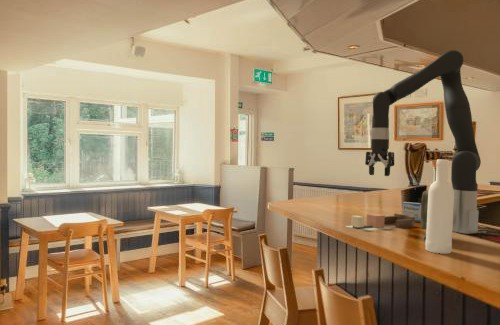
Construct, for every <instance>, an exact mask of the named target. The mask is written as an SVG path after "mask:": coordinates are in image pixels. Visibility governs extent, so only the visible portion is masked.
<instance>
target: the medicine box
mask: <svg viewBox="0 0 500 325" xmlns="http://www.w3.org/2000/svg"><path fill="white" fill-rule="evenodd" d="M401 210H402V212H401V213H402V215H407V216H412V217H415V223H416V222H418V223H420V221H421V202H420V203H419V202H409V201H408V202H407V201H403V202H402V209H401Z"/></svg>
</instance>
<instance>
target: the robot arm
mask: <svg viewBox="0 0 500 325" xmlns="http://www.w3.org/2000/svg"><path fill="white" fill-rule="evenodd" d="M463 64H464V56H463V54H462V52H460V51H458V50H456V49H455V50H454V49H453V50H452V49H451V50H448V51H447V50H446V51H445V52H444V53H442V54H441V55H440V56H439V57H438V58H436V59H434V61H432V62H431V63H429V64H428V65H427V66H424V67H423V68H421V69H420V70H418V71H416V72H415V73H413V74H411V75H409V76H407V77H405V78H404V79H402V80H400V81H398V82H397V83H394V84H393V85H391V87H390V88H388V89H386V90H384V91H379V92H377V93H375V94H374V95H373V97H372V112H373V113H372V120H371V135H370V136H371V137H370V149H371V151H366V152H365V166H368V174H369V176H374V175H375V165H376V164H377V163H378V162H379V163H380V162H381V163H382V164H383V166H384V177H389V176H390V175H391V168H392V167H394V166H395V152H393V151H388V150H389V149H390V129H389V128H390V118H389V117H390V116H389V115H390V114H389V113H390V106H391V105H393V104H394V103H397V102H398V101H399V100H402V99H404V98H407V96H409V95H411V94H413V93H415V92H417V91H419V89H421V88H422V87H424V86H425V85H427V84H428V83H430V82H431V81H433V80H435V79H437V78H438V77H440V80H441V84H442V89H443V100H444V108H445V116H446V120H447V124H448V127H449V129H450V131H451V134H452V136H453V137H454V138H453V139H454V140H455V145H456V146H455V147H456V153H455V154H454V156H453V157H452V160H451V167H450V168H451V169H450V170H451V174H450V176H451V177H450V182H451V185H452V187H453V190H454V211H453V227H452V232H456V233H459V234H465V235H471V234H477V233H478V232H479V231H478V228H479V213H480V212H479V209H477V208H478V207H477V204H478V189H479V188H478V187H479V186H478V183H477V171H478V170H479V169H480V166H481V165H482V164H481V163H482V162H481V157H480V156H481V155H480V153H479V150H478V146H477V143H476V140H475V132H474V123H473V118H472V117H473V116H472V112H471V111H472V110H471V105H470V102H469V98H468V96H467V93H466V91H465V90H464V88H463V84H462V77H461V75H462V74H461V69H462V67H463Z"/></svg>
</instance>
